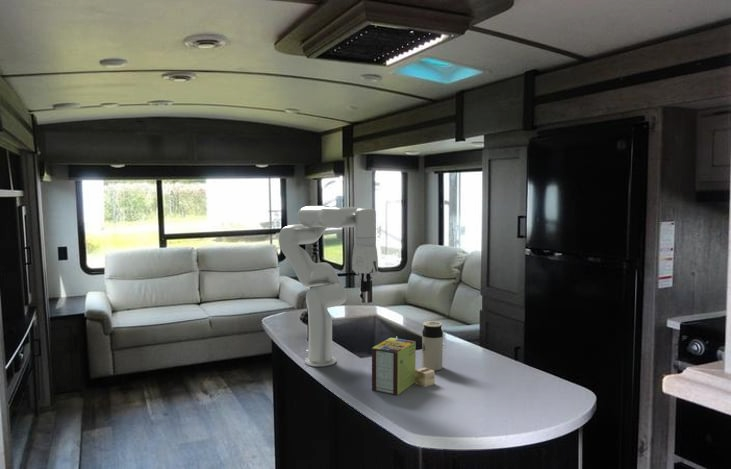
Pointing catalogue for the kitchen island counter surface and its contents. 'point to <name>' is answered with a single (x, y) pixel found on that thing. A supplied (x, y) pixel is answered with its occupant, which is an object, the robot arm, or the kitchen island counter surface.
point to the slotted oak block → (424, 377)
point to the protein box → (393, 365)
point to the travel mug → (432, 345)
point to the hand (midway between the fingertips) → (365, 291)
